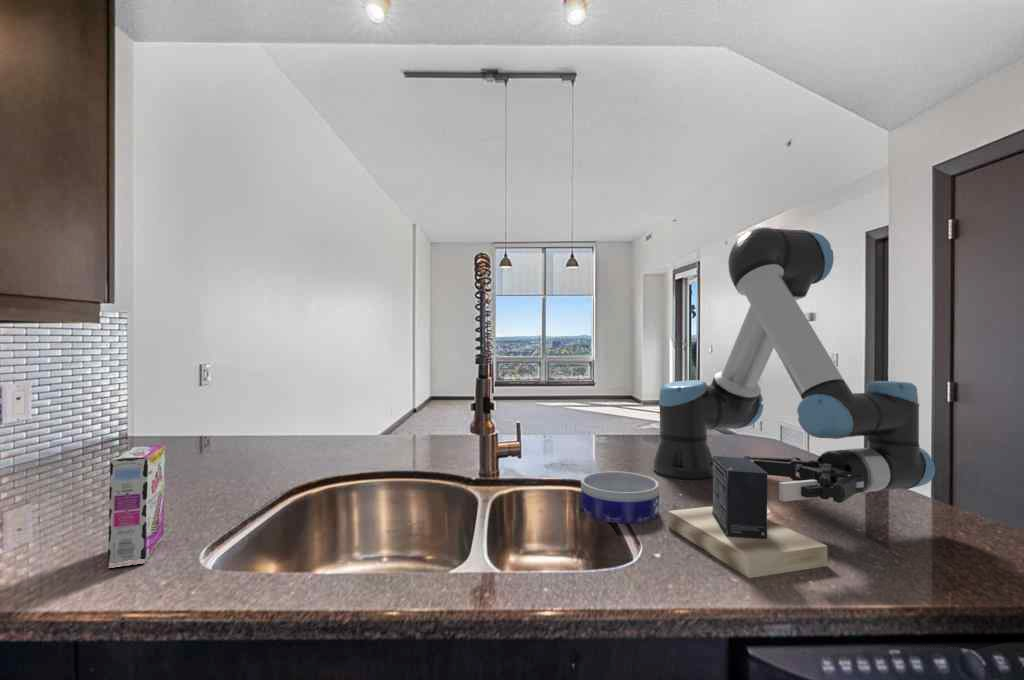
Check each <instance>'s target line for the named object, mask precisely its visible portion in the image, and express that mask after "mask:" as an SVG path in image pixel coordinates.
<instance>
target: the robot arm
mask: <svg viewBox="0 0 1024 680" xmlns="http://www.w3.org/2000/svg"><path fill="white" fill-rule="evenodd" d="M831 245H832V244H831V242H829V240H828V239H827V238H826V237H825V236H824V235H823V234H821V233H818V232H814V231H808V230H805V229H785V228H784V229H782V228H772V227H759V228H754V229H752V230H749V231H747V232H746V233H744V234H743V235H741V236H740V237H739V238H738V239H737V240H736V241H735V243H734V244H733V245H732V248H731V250H730V251H729V252H730V253H729V257H728V261H727V263H728V272H729V277H730V279H731V283H733V286H734V288H735V289H736V291H737V293H738V294H739V295H741V296H745V297H746V298H747V301H748V302H749V304H750V306H749V308H748V310H747V312H746V315H745V318H744V320H743V322H742V324H741V327H740V329H739V332H738V335H737V336H736V338H735V339H736V340H735V342H734V344H733V346H732V348H731V351H730V353H729V356H728V359H727V361H726V363H725V366H724V368H723V370H720V371H718V372H716V373H715V374H714V376H713V379H712V381H711V383H710V384H708V385H707V382H706V381H704V380H701V379H700V380H699V379H697V380H695V379H692V380H691V379H690V380H679V381H678V380H677V381H673V382H668V383H666V384H663V385H662V386H661V388H660V389H659V399H658V405H659V442H658V446H657V448H656V451H655V455H654V458H653V462H652V466H653V467H652V468H653V469H654V470H653V471H654V472H655V471H656V472H655V473H657V474H660V475H662V476H665V477H671V478H678V479H690V480H692V479H693V480H694V479H695V480H696V479H698V480H700V479H708V478H713V456H712V454H711V450H710V448H709V445H708V431H710V430H711V431H713V430H727V429H729V430H731V429H733V430H737V429H742V428H747V427H750V426H753V425H754V424H756V422H757V421H759V419H760V418H761V417H762V414H763V411H764V404H763V403H762V402H763V401H764V399H763V398H764V397H763V395H762V393H761V391H762V389H761V387H760V384H759V381H760V378H761V376H762V375H763V372H764V370H765V368H766V366H767V364H768V361H769V359H770V357H771V354H772V352H773V350H775V352H776V354H777V356H778V358H779V359H780V360H781V363H782V364H783V367H784V368H785V370H786V372H787V374H788V376H789V378H790V379H791V381H792V383H793V384H794V386H795V389H796V390H797V392H798V393H799V396H800V398H801V400H800V402H799V403H798V406H797V410H796V414H797V415H798V418H797V421H798V423H799V425H800V427H801V428H802V429H803V431H804V432H806V433H807V434H808V435H810V436H811V437H812V438H813V437H814V438H817V439H833V440H834V439H835V440H839V439H845V438H851V437H852V438H853V437H866V441H867V447H863V448H862V447H861V448H847V449H839V450H838V449H836V450H827V451H824V452H823V453H821V455H820V456H819V457H818V458H817V459H816V460H815V459H807V460H801V457H800V458H799V457H797V456H796V457H773V456H772V457H767V456H765V457H764V456H749V455H746V456H744V457H743V458H749V459H750V460H751V461H753V462H754V463H755V464H756V465H758V466H759V467H760V468H762V469H763V470H764V471H766V472H767V476H774V477H775V476H776V477H785V478H786V477H787V478H790V479H791V480H792V481H782V482H781V481H780V482H778V497H779V498H778V499H779V501H781V502H783V503H784V502H791V501H793V502H794V501H805V500H811V499H818V498H820V499H822V500H829V499H830V498H832V500H833V502H836V503H839V504H841V503H844V502H845V501H847V500H848V499H850V498H851V497H852V496H854V495H855V494H861V495H863V496H865V495H867V494H868V493H869V492H872V493H873V492H881V491H891V490H895V491H896V490H909V489H910V490H911V489H913V488H917V487H918V488H919V487H922V486H925V485H927V484H929V483H930V482H931V481H932V479H933V478H934V476H935V471H936V467H935V463H934V461H933V460H932V458H931V455H930V454H929V453H928V452H927V451H926V450H924V449H923V448H921V447H920V443H919V442H920V438H919V436H920V435H919V434H920V433H919V432H920V429H919V428H920V420H919V419H920V411H919V410H920V409H919V408H920V403H919V396H918V388H917V386H916V385H915V384H914V383H911V382H908V381H907V382H906V381H897V380H896V381H894V380H893V381H892V380H872V381H869V382H868V383H867V384H866V386H865V391H864V392H861V393H858V392H857V393H853V391H851V390H852V389H850V387H849V385H848V384H847V382H846V381H845V379H844V378H843V376H842V374H841V373H840V371H839V369H838V368H837V366H836V365H835V363H834V361H833V360H832V357H831V356H830V355H829V353H828V351H827V350H826V348H825V346H824V345H823V343H822V341H821V340H820V338H819V337H818V334H817V333H816V332H815V330H814V329H813V327H812V324H811V323H810V321H809V320H808V318H807V316H806V315H805V314H804V312H803V309H801V307H800V305H799V303H798V302H797V301H798V300H800V299H804V298H805V297H806V296H807V294H808V292H809V290H810V288H811V285H814V284H817V283H819V282H821V281H823V280H824V279H826V278H827V277H828V276H829V274H830V272H832V268H833V265H834V257H835V256H834V251H833V249H832V246H831ZM797 473H798V476H797Z"/></svg>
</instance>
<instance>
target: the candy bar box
mask: <svg viewBox="0 0 1024 680" xmlns="http://www.w3.org/2000/svg"><path fill="white" fill-rule="evenodd" d="M165 462H166V445H145V446H135V447H134V446H132V448H130V449H128V450H126V451H125V452H123V453H121V454H120V455H117V456H116V457H114V458H112V459H110V460H109V493H108V494H109V498H108V499H109V502H108V503H109V504H108V542H107V544H108V546H107V547H108V548H107V549H108V550H107V551H108V552H107V564H108V563H118V562H124V561H128V560H137V559H145V558H146V557H147V556H148V554H149V553H150V552H151V551H152V549H153V548H154V546H155V545H156V544H157V542H158V541H159V539H160V538H161V537H162V535H163V536H164V532H165V531H164V521H165V517H164V516H165V513H164V512H165V477H166V476H165V475H166V473H165V472H166V471H165V470H166V463H165Z"/></svg>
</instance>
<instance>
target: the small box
mask: <svg viewBox="0 0 1024 680" xmlns="http://www.w3.org/2000/svg"><path fill="white" fill-rule="evenodd" d="M712 459H713V476H712V506H713V511H712V514H713V516H714V517H715V519H716V520H717V522H718V524H719V525H720V527H721V528H722V530H723V531H724V533H725V534H726V536H740V537H753V538H767V519H768V475H767V472H766V471H764V470H763V469H762V468H760V467H759V466H758V465H756V464H755V463H754V462H753V461H751V460H750V459H749V458H744V457H737V456H736V457H735V456H734V457H733V456H719V455H718V456H717V455H713V456H712Z"/></svg>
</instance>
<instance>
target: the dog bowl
mask: <svg viewBox="0 0 1024 680" xmlns="http://www.w3.org/2000/svg"><path fill="white" fill-rule="evenodd" d="M580 494H581V495H580V496H581V509H582V512H583V513H584V514H585V515H587V516H588V517H590V518H592V519H595V520H598V521H601V522H606V523H610V524H611V523H613V524H614V523H615V524H622V525H623V524H625V525H626V524H627V525H630V524H642V523H647V521H648V522H650V521H653V520H655V519H657V517H658V516H659V512H660V511H659V510H660V509H659V508H660V506H659V505H660V484H659V482H658V481H657V480H656V479H654V478H653V477H651V476H647V475H644V474H641V473H640V474H639V473H637V472H636V473H635V472H630V471H629V472H628V471H618V470H617V471H615V470H613V471H598V472H593V473H589V474H587V475H584V476H583V477H581V479H580Z"/></svg>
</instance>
